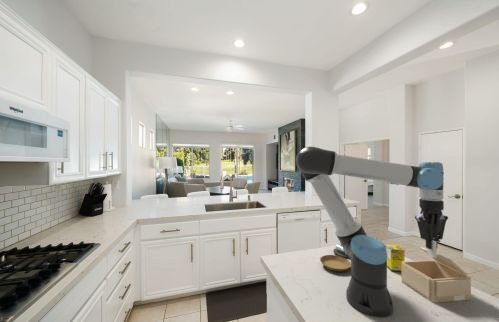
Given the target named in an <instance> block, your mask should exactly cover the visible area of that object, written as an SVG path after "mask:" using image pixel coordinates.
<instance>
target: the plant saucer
mask: <svg viewBox="0 0 499 322" xmlns="http://www.w3.org/2000/svg"><path fill="white" fill-rule="evenodd" d="M319 261H320V262H321V264H322V265H323V266H324V267H325V268H326V269H328V270H330V271H333V272H338V273H339V272H340V273H341V272H345V271H348V269H351V260H350V259H347V258H346V257H341V256H339V255H336V254H326V255H322V256H320V257H319Z"/></svg>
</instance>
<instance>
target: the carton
mask: <svg viewBox="0 0 499 322" xmlns="http://www.w3.org/2000/svg"><path fill="white" fill-rule="evenodd" d="M401 265H402V272H401V283H402V284H404V285H405V286H407V287H408V288H409V289H411V290H412V291H413V292H414V291H415V292H416V293H418V294H419V295H420V296H422V297H423V298H426V299H427V300H428V301H429V302H431V303H432V304H433V303H447V302H459V301H471V299H472V295H471V294H472V282H471V281H472V280H471V279H472V278H471V277H470V276H468V275H465V274H463V273H460V272H458V271H456V270H454V269H452V268H450V267H448V266H446V265H444V264H442V263H440V262H438V261H435V260H434V259H427V260H426V259H425V260H407V261H403V262H401Z"/></svg>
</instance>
